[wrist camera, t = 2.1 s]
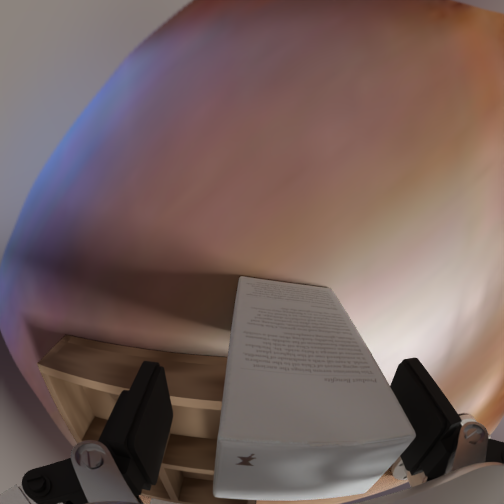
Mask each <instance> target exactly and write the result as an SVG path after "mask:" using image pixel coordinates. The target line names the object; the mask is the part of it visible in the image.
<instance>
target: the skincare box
mask: <svg viewBox="0 0 504 504" xmlns="http://www.w3.org/2000/svg"><path fill="white" fill-rule="evenodd" d="M415 437H416V433H415V431H414V429H413V427H412V425H411V423H410V422H409V420H408V418H407V416H406V414H405V413H404V411H403V409H402V407H401V405H400V404H399V402H398V400H397V398H396V396H395V394H394V393H393V391H392V389H391V387H390V386H389V384H388V382H387V380H386V378H385V377H384V375H383V373H382V371H381V370H380V368H379V366H378V365H377V363H376V361H375V359H374V358H373V356H372V354H371V352H370V351H369V349H368V347H367V346H366V344H365V342H364V341H363V339H362V337H361V335H360V334H359V332H358V330H357V329H356V327H355V325H354V324H353V322H352V321H351V319H350V317H349V316H348V314H347V312H346V311H345V309H344V307H343V306H342V304H341V303H340V301H339V299H338V298H337V296H336V295H335V293H334V292H333V290H332V289H331V288H324V287H316V286H309V285H301V284H294V283H286V282H279V281H271V280H264V279H257V278H251V277H244V276H240V278H239V281H238V287H237V293H236V300H235V306H234V313H233V320H232V327H231V335H230V343H229V351H228V358H227V366H226V374H225V383H224V391H223V399H222V408H221V416H220V425H219V432H218V438H217V449H216V459H215V469H214V481H213V495H214V496H215V497H218V498H230V499H245V500H312V499H325V498H334V497H342V496H350V495H356V494H363V493H366V492H367V490H368V489H369V488H371V487H372V486H373V485H374V484H375V483H376V482H377V480H378V479H379V478H380V477H381V476H382V475H383V474H384V473H385V472H386V471H387V470H388V469H389V468H390V467H391V465H392V464H393V463H394V462H395V461H396V460H397V459H398V458H399V456H400V455H401V454H402V453H403V452H404V451H405V449H406V448H407V447H408V446H409V445H410V443H411V442H412V441H413V440H414V438H415Z"/></svg>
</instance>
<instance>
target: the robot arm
mask: <svg viewBox="0 0 504 504" xmlns="http://www.w3.org/2000/svg"><path fill="white" fill-rule="evenodd" d="M390 387H391V389H392V391H393V393H394V394H395V396H396V398H397V400H398V402H399V404H400V405H401V407H402V409H403V411H404V413H405V414H406V416H407V418H408V420H409V422H410V423H411V425H412V427H413V429H414V431H415V433H416V437H415V438H414V440H413V441H412V442H411V443H410V445H409V446H408V447H407V448H406V449H405V451H404V452H403V453H402V454H401V455H400V456H399V458H398V459H397V460H396V461H395V462H394V463H393V465H392V468H391V471H392V474H393V476H394V478H396V479H399V480H407V479H408V481H409V483H410V486H411V488H408V489H405V490H402V491H399V492H396V493H393V494H389V495H386V496H382V497H379V498H375V499H371V500H367V501H362V502H358V503H353V504H504V442H499V441H496V440H492V439H490V435H489V434H488V432H487V430H486V428H485V427H484V426H483V425H482V424H480V423H478V422H476V420H475V419H474V417H473V416H471V415H461V416H459V415H458V414H457V412H456V411H455V409H454V408H453V406H452V405H451V404H450V402H449V401H448V399H447V398H446V396H445V395H444V394H443V392H442V391H441V389H440V388H439V387H438V385H437V384H436V383H435V381H434V380H433V378H432V377H431V376H430V374H429V373H428V372H427V370H426V369H425V368H424V366H423V365H422V364H421V362H420V361H419V360H418V359H417V358H410V359H404V360H403V361H402V363H400V364H399V366H398V368H397V371H396V373H395V376H394V378H393V381H392V383H391V386H390ZM172 421H173V409H172V404H171V400H170V395H169V390H168V385H167V380H166V375H165V370H164V367H162V366H160V364H159V363H158V362H151V361H143V363H142V365H141V367H140V369H139V371H138V373H137V375H136V377H135V379H134V381H133V383H132V385H131V387H130V390H123V391H122V392H121V394H120V396H119V398H118V400H117V402H116V404H115V406H114V408H113V410H112V412H111V414H110V416H109V418H108V420H107V423H106V425H105V427H104V429H103V431H102V433H101V435H100V438H99V440H98V441H95V440H86V441H82V442H80V443H78V444H77V445H76V446H74V448H73V450H72V452H71V458H69V459H66V460H63V461H60V462H56V463H54V464H50V465H47V466H43V467H39V468H35V469H32V470H30V471H28V472H27V473H26V474H25V475H24V477H23V479H22V485H21V486H19V487H18V486H17V485H15V486H13V487H11V488H10V489H8V490H6V491H5V492H3V493H2V494H0V504H143V502H142V501H141V499H140V497H139V495H141V493H142V489H144V490H149V491H150V489H151V485H156V483H157V480H158V476H159V471H160V467H161V463H162V459H163V455H164V451H165V448H166V444H167V440H168V436H169V432H170V428H171V424H172Z"/></svg>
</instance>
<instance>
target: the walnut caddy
mask: <svg viewBox="0 0 504 504" xmlns="http://www.w3.org/2000/svg"><path fill="white" fill-rule="evenodd" d="M227 358H228V357H216V356H203V355H191V354H181V353H172V352H163V351H155V350H147V349H140V348H134V347H127V346H121V345H115V344H109V343H104V342H98V341H93V340H88V339H83V338H79V337H74V336H70V335H65V336H64V337H63V338H62V339H61V340H60V341H59V342H58V343H57V344H56V345H55V346H54V347H53V348H52V349H51V350H50V351H49V352H48V353H47V354H46V355H45V356H44V357H43V358H42V359H41V360H40V361H39V362H38V363H37V365H38V367H39V369H40V372H41V374H42V377H43V379H44V381H45V383H46V386H47V388H48V390H49V392H50V394H51V396H52V398H53V400H54V402H55V404H56V406H57V408H58V410H59V412H60V414H61V416H62V418H63V420H64V421H65V423H66V425H67V427H68V428H69V430H70V432H71V434H72V435H73V437H74V439H75V440H76V442H77V444H78V443H80V442H82V441H86V440H95V441H98V440H99V438H100V435H101V433H102V431H103V429H104V427H105V425H106V423H107V420H108V418H109V416H110V414H111V412H112V410H113V408H114V406H115V404H116V402H117V400H118V398H119V396H120V394H121V392H122V391H123V390H130V387H131V385H132V383H133V381H134V379H135V377H136V375H137V373H138V371H139V369H140V367H141V365H142V363H143V361H151V362H158V363H159V364H160V366H162V367H164V370H165V375H166V380H167V385H168V390H169V395H170V400H171V404H172V409H173V421H172V424H171V428H170V432H169V436H168V440H167V444H166V448H165V451H164V455H163V459H162V463H161V467H160V471H159V476H158V480H157V483H156V485H151V489H150V491H149V490H144V489H142V493H141V495H142V496H146V497H150V498H154V499H159V500H163V501H168V502H174V503H179V504H256V500H245V499H230V498H218V497H215V496H214V495H213V481H214V469H215V459H216V449H217V438H218V432H219V425H220V416H221V408H222V399H223V391H224V383H225V374H226V366H227Z"/></svg>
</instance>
